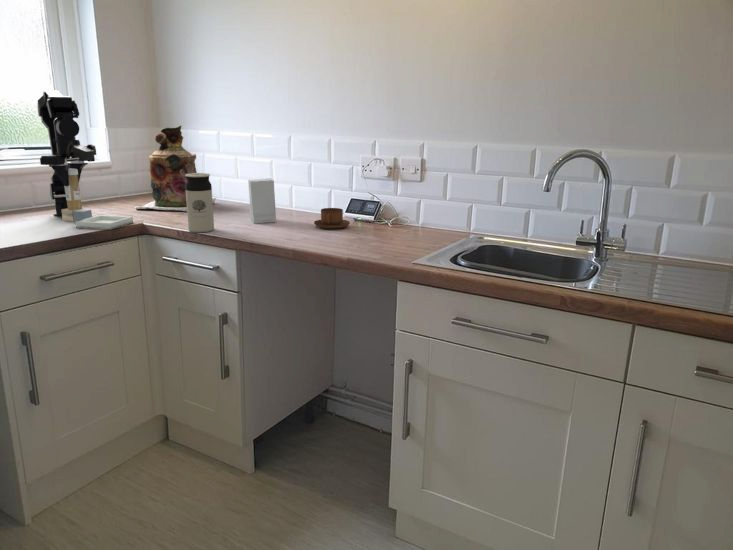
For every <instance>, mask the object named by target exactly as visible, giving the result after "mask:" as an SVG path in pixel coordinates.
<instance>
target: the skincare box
mask: <svg viewBox="0 0 733 550" xmlns="http://www.w3.org/2000/svg"><path fill="white" fill-rule="evenodd" d="M247 181H248V195H249V208H250V210H249V211H250V221H251V222H252V223H253V225H254V224H255V225H256V224H265V223H266V224H267V223H276V222H277V213H276V198H275V197H276V194H275V180H273V178H269V177H268V178H260V179H259V178H257V179H248V180H247Z"/></svg>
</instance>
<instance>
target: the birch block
mask: <svg viewBox="0 0 733 550" xmlns="http://www.w3.org/2000/svg"><path fill="white" fill-rule="evenodd" d="M61 211H62V216H61V217H62V221H63V222H74V214H73V211H71V210H68V209H67V208H66V209H61ZM74 211H76V210H74Z"/></svg>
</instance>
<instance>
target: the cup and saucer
mask: <svg viewBox="0 0 733 550" xmlns="http://www.w3.org/2000/svg"><path fill="white" fill-rule="evenodd" d="M343 214H344V210H343V209H342V208H339V207H324V208H321V209H320V219H317V220H315V221H314V222H313V223H314V225H315V226H316V227H318V228H320V229H325V230H338V229H343V228H346V227H348V226H349V225H350V223H351V222H350V221H349V220H348V219H347V220H346V219H343Z"/></svg>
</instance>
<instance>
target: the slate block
mask: <svg viewBox="0 0 733 550" xmlns="http://www.w3.org/2000/svg"><path fill="white" fill-rule="evenodd" d="M73 214H74V221H73V222H74V223H75V222H76V221H80V220H84V219H87V218H91V217H93V215H92V209H86V208H85V209H83V208H82V209H81V210H76V211H73Z"/></svg>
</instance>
